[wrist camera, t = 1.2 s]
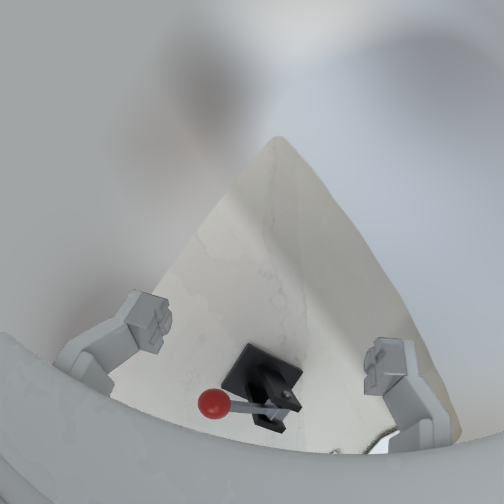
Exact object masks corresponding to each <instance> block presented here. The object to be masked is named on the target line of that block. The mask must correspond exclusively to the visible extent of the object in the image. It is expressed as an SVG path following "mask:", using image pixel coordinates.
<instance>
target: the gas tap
mask: <svg viewBox="0 0 504 504" xmlns="http://www.w3.org/2000/svg"><path fill="white" fill-rule="evenodd" d="M302 373H303V371H302V370H301V369H299V368H297V367H295V366H293V365H291V364H289V363H287V362H284V361H282V360H280V359H278V358H276V357H274V356H272V355H270V354H268V353H266V352H264V351H262V350H260V349H258V348H256V347H254V346H252V345H250V344H247V346H246V347H245V349H244V350H243V352H242V354H241V355H240V357H239V358H238V360H237V361H236V363H235V364H234V366H233V368H232V369H231V371H230V372H229V374H228V375H227V377H226V378H225V380H224V381H223V383H222V384H221V388H222V389H224V390H227V391H229V392H231V393H233V394H235V395H238V396H240V397H242V398H245V399H247V400H248V402H249V403H258V404H265V403H266V402H267V400H268V399H270V401H271V403H274V404H276V405H279V406H281V407H284V408H287V409H289V410H292V411H295V412H299V411H300V410H301V408H302V406H301V405H300V403H299V401H298V400H297V398H296V397H295V395H294V393H293V392H292V390H291V389H292V388H293V386H294V385H295V384H296V382H297V381H298V379H299V378H300V376H301V375H302ZM252 416H253V420H254V423H255V425H258V426H261V427H264V428H266V429H269V430H272V431H275V432H278V433H281V434H282V433H283V432H284V431H285V429H286V428H285V426H284V424H283V421H282V420H270V419H269V418H268V417H267V416H266V415H265V414H252Z"/></svg>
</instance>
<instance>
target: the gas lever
mask: <svg viewBox="0 0 504 504" xmlns="http://www.w3.org/2000/svg"><path fill="white" fill-rule="evenodd" d="M198 407H199V410H200V412H201V413H202V414H203V415H204V416H205V417H207V418H210V419H220V418H223V417H225V416H226V415H227V414H228V413H229V412H238V413H252V414H265V415H266V416H267V417H268V418H269V419H270V420H283V419H284V418H285V417H286V416H287V414H288V413H289V412H290V410H289V409H287V408H284V407H281V406H279V405H276V404H274V403H271V401H270V399H268V400H267V402H266V403H265V404H258V403H248V402H240V401H232V400H230V398H229V396H228V395H227V394H226V393H225V392H224V391H222V390H219V389H208V390H206V391H204V392H203V393H202V394H201V395H200V397H199V399H198Z"/></svg>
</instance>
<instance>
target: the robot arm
mask: <svg viewBox="0 0 504 504" xmlns="http://www.w3.org/2000/svg"><path fill="white" fill-rule="evenodd" d="M168 306H169V301H168V299H166V298H162V297H159V296H155V295H152V294H148V293H145V292H142V291H138V290H133V291H131V292H130V294H129V295H128V297H127V298H126V299H125V301H124V302H123V304H122V305H121V307H120V308H119V310H118V311H117V313H116V315H115V316H114V318H108V319H106V320H105V321H103V322H101V323H99V324H97V325H96V326H94V327H92V328H90V329H88V330H86V331H85V332H83V333H81V334H79V335H77V336H76V337H74V338H72V339H70V340H68V341H67V342H66V344H65V345H64V347H63V349H62V350H61V352H60V353H59V355H58V356H57V358H56V360H55V361H54V363H53V365H51V364H50V363H48V362H46V361H45V360H44V359H42V358H41V357H39V356H38V355H36V354H35V353H33V352H32V351H31V350H29V349H28V348H26V347H25V346H24V345H22V344H21V343H20V342H18V341H17V340H16V339H15V338H13V337H12V336H11V335H9V334H8V333H5V332H2V333H0V504H504V431H503V432H500V433H497V434H494V435H491V436H487V437H484V438H480V439H476V440H472V441H468V442H464V443H460V444H455V445H452V434H451V421H450V415H449V414H448V412H447V411H446V409H445V408H444V406H443V405H442V403H441V402H440V401H439V399H438V398H437V396H436V395H435V394H434V392H433V391H432V389H431V388H430V387H429V385H428V384H427V382H426V381H425V380H424V378H423V377H422V376H419V373H418V366H417V359H416V353H415V347H414V343H413V341H412V340H403V339H396V338H384V337H378V338H376V339H375V341H374V346H373V347H371V348H369V350H368V351H367V353H366V356H365V359H364V371H365V373H366V374H367V377H366V378H365V379H364V395H376V396H383V399H384V401H385V403H386V405H387V407H388V409H389V411H390V413H391V415H392V417H393V419H394V421H395V422H396V424H397V426H398V428H399V430H400V433H398V434H396V435H394V436H392V437H391V438H390V439H389V444H388V453H384V454H328V453H313V452H302V451H293V450H285V449H278V448H271V447H265V446H259V445H254V444H249V443H244V442H239V441H235V440H230V439H226V438H222V437H218V436H214V435H210V434H207V433H203V432H199V431H196V430H193V429H189V428H186V427H183V426H180V425H177V424H174V423H171V422H168V421H165V420H163V419H160V418H157V417H155V416H152V415H149V414H147V413H144V412H142V411H139V410H137V409H135V408H132V407H130V406H128V405H125V404H123V403H121V402H119V401H117V400H115V399H112V398H110V397H109V396H110V394H111V392H112V390H113V387H114V382H113V381H112V379H111V378H110V377H109V376H108V373H110V372H111V371H112V370H114V369H115V368H116V367H118V366H119V365H120V364H122V363H123V362H125V361H126V360H127V359H129V358H130V357H131V356H133V355H134V354H135V353H137V352H138V351H139V349H141V350H144V351H147V352H150V353H153V354H157V355H158V353H159V351H160V349H161V347H162V345H163V343H164V341H163V336H164V335H166V334H168V332H169V330H170V328H171V324H172V312H171V311H170V310H169V309H168Z"/></svg>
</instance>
